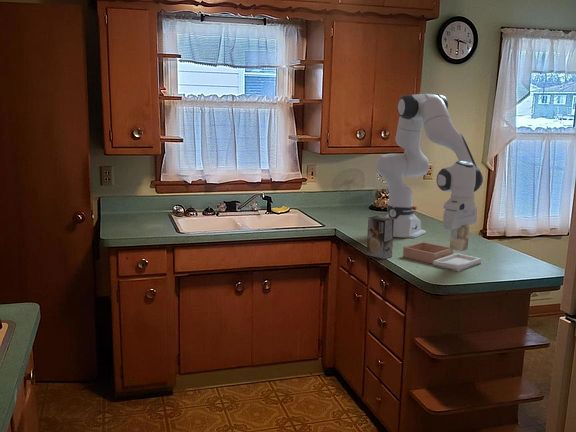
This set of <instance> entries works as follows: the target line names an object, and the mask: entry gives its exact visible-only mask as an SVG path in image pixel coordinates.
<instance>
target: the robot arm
mask: <svg viewBox="0 0 576 432" xmlns="http://www.w3.org/2000/svg"><path fill="white" fill-rule="evenodd" d="M397 112H398V115H399V119H398V123H397V128H396V134H395V138H394V140H395V143H396V144H397V146H398V147H400V148H402V149H403V150H404V152H403V153H387V154H381V155H379V156H378V158H377V159H376V163H375V170H376V172H377V174H379V176H380V177H382V178H383V180H384V181H385V184H386V185H387V189H388V205H387V208H386V210H387V211H386V213H387V214H386V215H385V217H386V218H392V219H394V226H393V238H409V239H410V238H418V237H419V236H422V235H425V234H426V230H424V229H422V222H421V219H420V218H418V217H417V216H416V214H414V213H415V212H414V211H417V209H418V208H417V205H413V194H414V193H413V192H414V191H413V189H412V188H411V187H410V186H409V185H407V184H405V183H404V182H403V181H404V180H403V178H417V177H420V176H421V177H422V176H425V175H426V174H427V173H429V168H430V160H429V159H428V157H427V156H426V155H425V154H424V153H423V152H422V150H421V149H422V148H421V136H422V131H423V128H424V131H425V134H426V136H427V138H428V139H429V141H431V142H432V143H434V144H436V145H439V146H443V147H446V148H447V149H449V150H451V151H452V152H453V153H455V155H456V158H457V161H455V162H454V163H453V165H450V166H447V167H444V168H442V169H440V170H438V173H437V175H436V184H437V187H438V188H439V189H440V190H441V191H443V192H450V193H451V194H450V197H449V198H448V200H447V201H445V202H444V203H443V209H444V211H443V217H442V218H443V219H442V221H443V222H442V227H443V228H444V229H445V230H449V231H450V233H451V232H452V234H453V235H452V238H453V239H458V234H457V231H458V228H461V226H463V225H467V224H469V226H472V225H475V224H476V223H477V220H478V210H477V207H476V203H475V192H477V191H478V190H479V189H480V188H481V186H483V185H482V184H483V183H484V177H483V174H482V172H481V170H480V169H479V167H478V165H477V163H476V162H475V159H474V157H473V154H472V153H471V151H470V148H469V145H468V143H467V141H466V139H465V138H464V136H463V135H462V133H460V132H459V131H458V130H457V129H456V127H455V126H454V124H453V122H452V118H451V115H450V112H449V102H448V100H447V97H446V96H445V95H442V94H440V93H439V94H438V93H435V94H434V93H417V94H410V93H409V94H405V95H402V96H401V97H400V99H399V100H398V102H397ZM423 126H424V127H423Z"/></svg>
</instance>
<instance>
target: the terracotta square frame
mask: <svg viewBox="0 0 576 432" xmlns="http://www.w3.org/2000/svg"><path fill="white" fill-rule="evenodd" d="M402 251H403V252H402V257H404V258H408V259H412V260H417V261H421V262H425V263H429V264H433V261H434V260H437V259H440V258H443V257H446V256H449V255H452V254H454V250H452V249H450V246H445V245H440V244H435V243H431V242H426V241H421V242H417V243H412V244H410V245H406V246H403V250H402Z"/></svg>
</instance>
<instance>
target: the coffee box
mask: <svg viewBox="0 0 576 432" xmlns="http://www.w3.org/2000/svg"><path fill="white" fill-rule="evenodd" d="M393 226H394V219H392V218H386V216H385V217H384V216H379V215H372V216H370V217H368V218H367V237H366V239H367V241H366V256H371V257H374V258H379V259H382V260H385V259H388V258H392V257H393V247H394V245H393V241H394V237H393Z"/></svg>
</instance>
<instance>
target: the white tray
mask: <svg viewBox="0 0 576 432" xmlns="http://www.w3.org/2000/svg"><path fill="white" fill-rule="evenodd" d="M481 263H482V258H480V257H476V256H471V255H467V254H461V253H459V252H456V253H453V254H452V255H449V256H446V257H443V258H440V259H437V260H434V261H433V263H432V266H433V267H438V268H442V269H446V270H450V271H455V272H461V271H463V270H467V269H469V268H471V267H475V266H478V265H479V264H481Z"/></svg>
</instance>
